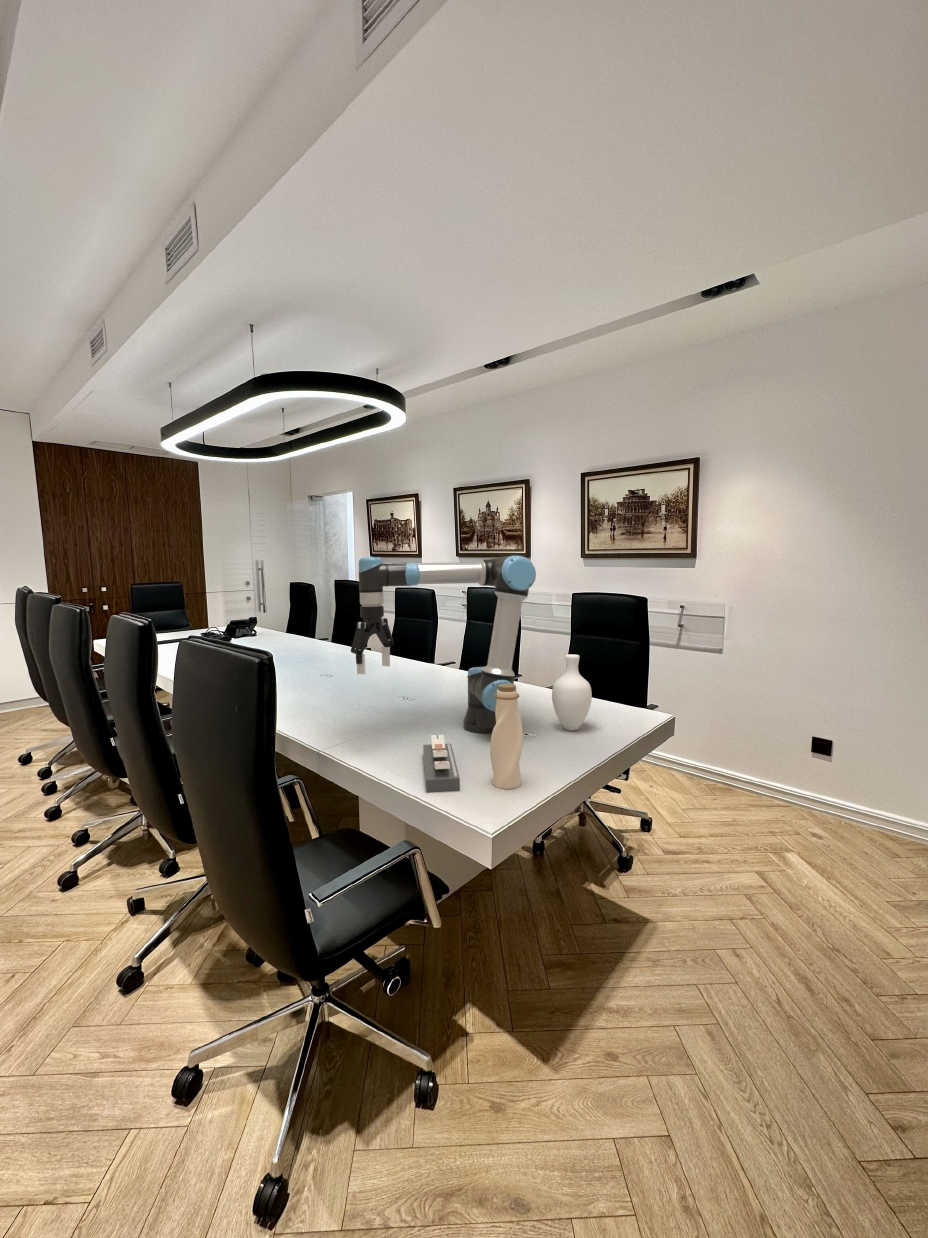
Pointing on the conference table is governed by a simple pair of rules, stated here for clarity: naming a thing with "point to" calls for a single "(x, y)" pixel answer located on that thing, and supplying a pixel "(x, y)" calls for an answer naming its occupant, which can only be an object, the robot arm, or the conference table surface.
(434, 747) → the rocker
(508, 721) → the water bottle
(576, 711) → the vase
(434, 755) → the rocker
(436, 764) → the rocker
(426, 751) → the power strip
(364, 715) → the conference table surface
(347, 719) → the conference table surface
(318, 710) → the conference table surface
